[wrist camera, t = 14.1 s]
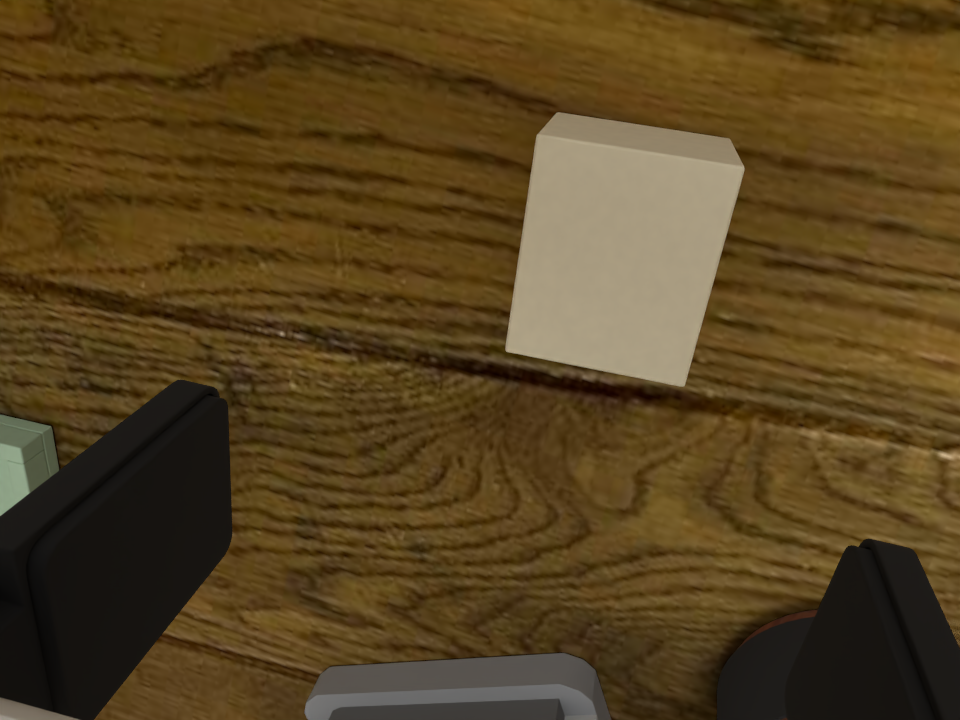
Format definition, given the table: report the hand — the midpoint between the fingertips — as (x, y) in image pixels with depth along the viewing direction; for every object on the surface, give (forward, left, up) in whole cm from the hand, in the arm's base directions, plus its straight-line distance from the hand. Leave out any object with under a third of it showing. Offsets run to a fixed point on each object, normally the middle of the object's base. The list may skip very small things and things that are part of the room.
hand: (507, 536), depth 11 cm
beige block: (0, +1, -14) cm, 14 cm away
